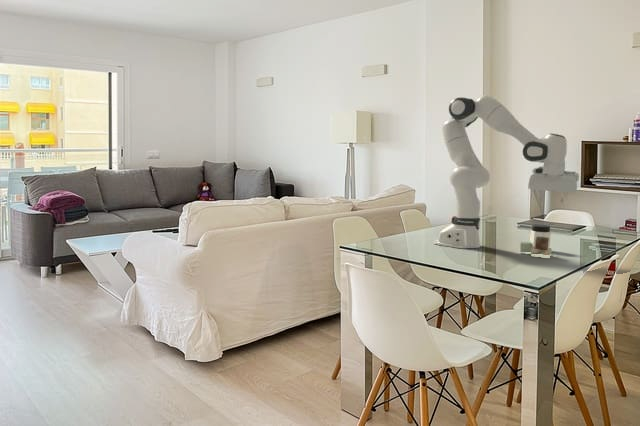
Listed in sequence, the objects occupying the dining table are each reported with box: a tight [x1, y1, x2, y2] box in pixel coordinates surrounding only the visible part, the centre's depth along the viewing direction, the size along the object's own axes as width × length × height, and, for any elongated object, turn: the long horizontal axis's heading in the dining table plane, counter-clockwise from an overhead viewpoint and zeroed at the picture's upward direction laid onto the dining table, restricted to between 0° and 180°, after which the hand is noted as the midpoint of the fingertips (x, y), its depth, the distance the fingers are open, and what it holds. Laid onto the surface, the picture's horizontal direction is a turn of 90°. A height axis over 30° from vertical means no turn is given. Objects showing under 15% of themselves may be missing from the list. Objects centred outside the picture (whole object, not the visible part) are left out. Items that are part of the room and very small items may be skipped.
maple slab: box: [531, 246, 553, 255], centre depth 250 cm, size 8×8×4 cm
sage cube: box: [518, 241, 533, 252], centre depth 256 cm, size 5×5×5 cm
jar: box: [529, 224, 552, 248], centre depth 264 cm, size 9×8×12 cm
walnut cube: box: [535, 236, 549, 250], centre depth 249 cm, size 5×5×5 cm
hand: (550, 201), depth 248 cm, fingers open, 8 cm apart
